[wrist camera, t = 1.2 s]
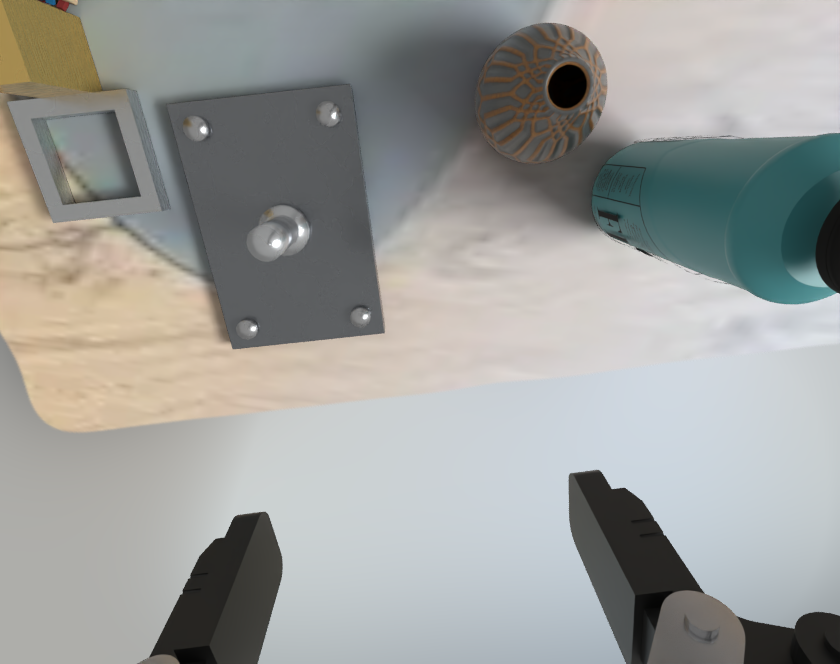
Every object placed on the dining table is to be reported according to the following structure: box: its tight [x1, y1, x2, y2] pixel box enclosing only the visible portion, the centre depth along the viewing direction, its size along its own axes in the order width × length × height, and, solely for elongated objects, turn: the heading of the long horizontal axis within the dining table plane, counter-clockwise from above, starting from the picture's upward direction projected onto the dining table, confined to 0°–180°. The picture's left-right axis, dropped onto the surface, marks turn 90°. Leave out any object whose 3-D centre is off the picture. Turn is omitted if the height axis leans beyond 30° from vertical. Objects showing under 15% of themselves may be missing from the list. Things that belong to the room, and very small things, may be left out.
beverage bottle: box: [591, 133, 840, 304], centre depth 22 cm, size 6×7×20 cm
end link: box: [0, 0, 170, 223], centre depth 26 cm, size 11×7×6 cm, turn 6°
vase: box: [475, 23, 607, 164], centre depth 25 cm, size 7×7×9 cm
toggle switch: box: [166, 84, 385, 349], centre depth 29 cm, size 16×11×6 cm
